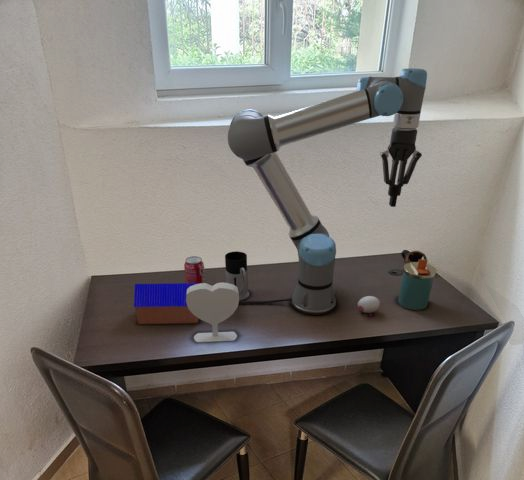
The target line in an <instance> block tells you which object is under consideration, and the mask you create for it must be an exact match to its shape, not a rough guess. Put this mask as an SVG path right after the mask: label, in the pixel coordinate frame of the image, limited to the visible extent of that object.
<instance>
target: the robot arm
mask: <svg viewBox="0 0 524 480" xmlns="http://www.w3.org/2000/svg"><path fill="white" fill-rule="evenodd" d="M427 78H428V72H427V70H425V69H423V68H415V67H414V68H411V67H410V68H403V69H401V71H400V74H399V76H394V77H393V76H362V77H360V78H359V79H358V81H357V85H356V91H352V92H350V93H346V94H343V95H341V96H338V97H335V98H331V99H328V100H325V101H322V102H319V103H315V104H313V105H309V106H306V107H302V108H300V109H297V110H293V111H291V112H288V113H284V114H281V115H278V116H272V115H271V114H267V115H265V116H264V115H262V113H260V112H259V111H258V110H255V109H244V110H241V111H240V112H238V113H236V115H234V117H233V118H232V119H231V122H230V124H229V128H228V130H227V131H228V132H227V144H228V147H229V149H230V150H231V152H232V154H234V155H235V156H236V157H237V158H239V159H241V160H242V161H243V162H244V164H245V166H246V167H249V168H252V169H253V170H254V171H255V173H256V175H257V176H258V178H259V180H260V181H261V183H262V185H263V187H264V188H265V190H266V192H267V193H268V195H269V197H270V198H271V200H272V201H273V203H274V205H275V206H276V208H277V209H278V211H279V213H280V215H281V217H282V218H283V220H284V221H285V224H287V226H288V228H289V230H288V237H289V238H290V240H291V242H292V243H293V245H294V247H295V249H296V250H297V255H298V275H297V284H296V287H295V289H294V291H293V294H292V295H291V298H282V299H281V298H280V299H273V300H272V299H270V300H239V303H238V305H239V304H241V305H242V304H272V303H280V302H281V303H282V302H291V306H292V307H293V308H294V309H295V310H296V311H297V312H299V313H301V314H304V315H309V316H310V315H311V316H321V315H326V314H329V313H332V311H334V310H335V308H336V304H337V297H336V295H338V290H336V293H335V291H334V287H333V282H334V272H335V271H334V270H335V262H336V261H335V260H336V256H337V244H336V242H335V240H334V239H333V238H332V237H331V236H330V234H329V231H328V229H327V228H326V227H325V225H323V224H322V222H321V220H320V218H319V217H318V216H317V215H315V214H314V215H313V214H312V213H311V211H310V210H309V208H308V206H307V204H306V203H305V201H304V199H303V197H302V196H301V194H300V192H299V190H298V188H297V187H296V185H295V183H294V181H293V180H292V178H291V176H290V174H289V173H288V171H287V169H286V167H285V166H284V163H283V162H282V160H281V159H280V157H279V154H278V153H277V152H279V151H280V149H281V148H282V147H284V146H286V145H290V144H293V143H296V142H299V141H302V140H305V139H308V138H311V137H316V136H318V135H322V134H325V133H328V132H331V131H334V130H339V129H342V128H344V127H347V126H351V125H354V124H357V123H360V122H363V121H366V120H369V119H374V118H377V117H380V116H381V117H392V116H393V122H392V127H393V128H392V129H391V134H390V140H389V141H390V142H389V145H388V146H387V149H386V150H384V151H380V152H379V156H380V158H381V160H382V161H381V162H382V174H383V182H384V183H385V184H386V185H388V190H387V195H388V196H389V201H388V205H389V206H390V207H392V208H396V207H397V200H398V197H400V196H401V194H402V188H403V187H404V185H408V184H410V183H409V182H410V180H411V177H412V175H413V174H414V170H415V168H416V166H417V163H418V161H419V160H420V159H421V158H422V156H423V154H422V153H421V152H420V151H418V150H417V147H416V141H417V136H418V129H417V128H419V126H420V125H419V124H420V118H421V114H422V113H421V112H422V107H423V102H424V97H425V93H426V89H427ZM389 156H390V157H391V159H392V160H391V169H390V168H389V167H390V166H389V159H388V158H389ZM410 157H411V159H410ZM409 159H410V162H409V164H408V160H409ZM407 164H408V166H407ZM398 167H399V168H398ZM396 179H397V180H396Z"/></svg>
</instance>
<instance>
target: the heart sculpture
mask: <svg viewBox="0 0 524 480" xmlns="http://www.w3.org/2000/svg"><path fill="white" fill-rule="evenodd" d="M239 301H240V300H239V292H238V287H236V286H235V285H233V284H229V283H226V282H217V283H215V284H213V285H211V284H209V283H206V282H205V283H200V284H195V285H193V286H190V287H189V288H188V289H187V294H186V303H187V306H188V309H189V310H190V311H191V312H192V314H193V315H194V316H196V317H198V318H199V319H198V320H201V321H203V322H205V323H207V324H210V325H211V332H197V333H196V334H194V336H193V339H194V341H195V343H208V342H212V343H213V342H233V341H234V342H235V341H236V339H237V338H238V335H237V333H236V332H235V331H219V325H218V324H220V323H222V322H224V321H226V320H227V319H229V318H230V317H231V316H232V315H234V313H235V312H236V310H237V309H238V307H239V304H238V303H239Z"/></svg>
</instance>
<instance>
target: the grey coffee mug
mask: <svg viewBox="0 0 524 480" xmlns="http://www.w3.org/2000/svg"><path fill="white" fill-rule="evenodd" d="M224 265H225V268H224V273H225V283H229V284H233V285H235V286H236V287H238V292H239V301H244V300H246V299H248V298H249V297H250V292H249V273H248V272H249V271H248V255H247V253H245V252H244V251H237V250H236V251H230V252H227V253H226V254H225V255H224Z"/></svg>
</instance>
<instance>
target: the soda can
mask: <svg viewBox="0 0 524 480" xmlns="http://www.w3.org/2000/svg"><path fill="white" fill-rule="evenodd" d="M183 268H184V278H185V283H198V284H200V283H206V272H205V271H206V270H205V264H204V261H203V259H202V258H201V257H200V256H197V255H191V256H188V257H186V258H185V262H184V264H183Z"/></svg>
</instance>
